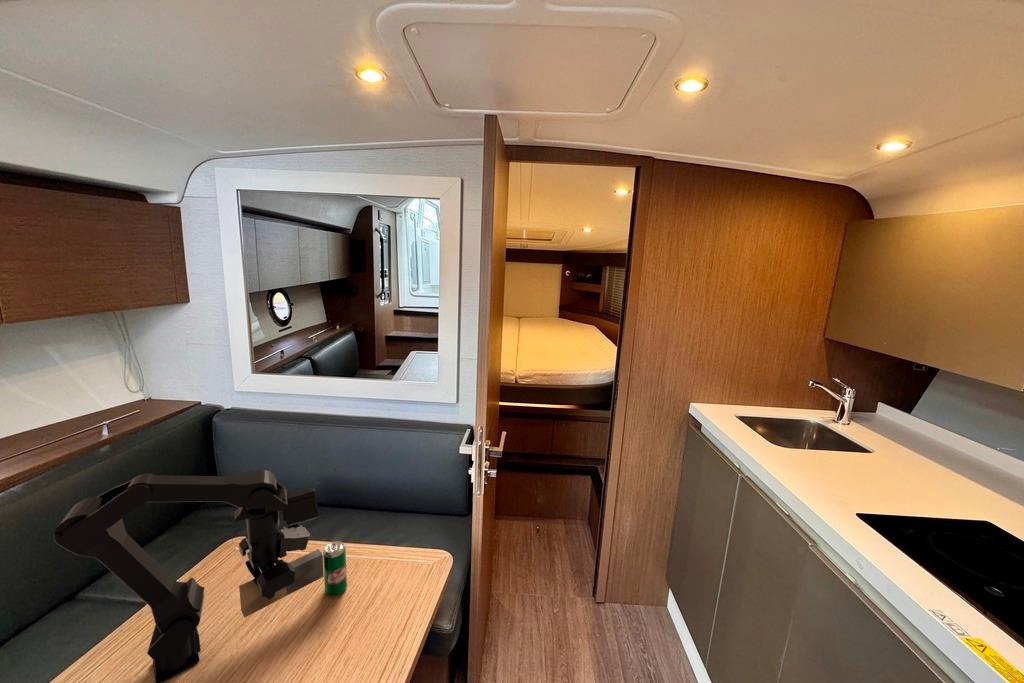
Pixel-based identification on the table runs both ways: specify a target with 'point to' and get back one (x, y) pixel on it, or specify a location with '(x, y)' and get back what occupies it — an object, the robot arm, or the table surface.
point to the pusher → (306, 573)
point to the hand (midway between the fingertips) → (269, 594)
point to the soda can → (335, 568)
